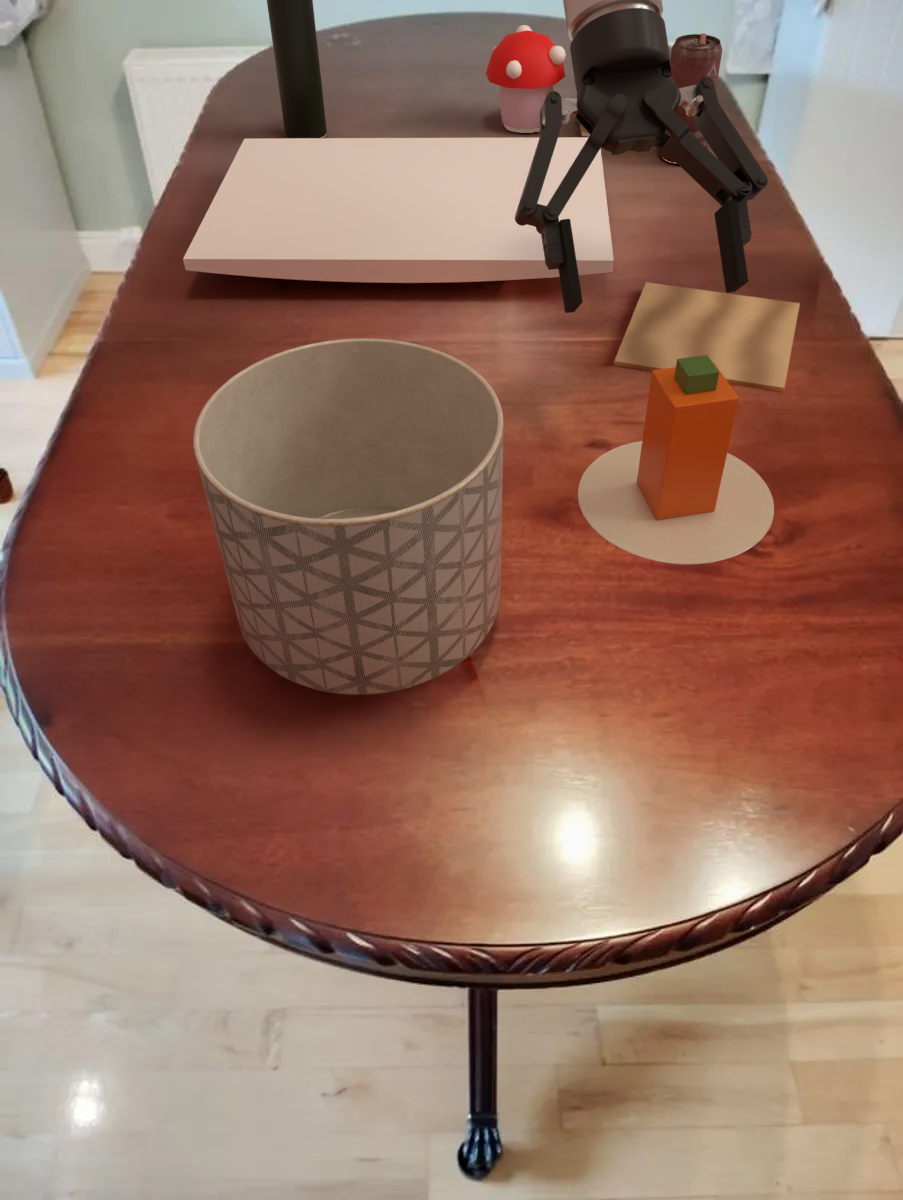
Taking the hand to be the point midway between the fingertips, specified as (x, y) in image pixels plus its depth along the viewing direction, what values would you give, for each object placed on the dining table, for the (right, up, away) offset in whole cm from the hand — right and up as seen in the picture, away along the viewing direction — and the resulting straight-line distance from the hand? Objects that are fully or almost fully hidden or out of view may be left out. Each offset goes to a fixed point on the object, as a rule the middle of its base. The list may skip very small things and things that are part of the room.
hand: (656, 298), depth 79 cm
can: (+14, +34, +52) cm, 64 cm away
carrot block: (+2, -16, +3) cm, 16 cm away
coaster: (+9, +2, +21) cm, 23 cm away
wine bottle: (-37, +40, +60) cm, 81 cm away
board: (-21, +19, +39) cm, 48 cm away
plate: (+2, -16, +4) cm, 16 cm away
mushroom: (-6, +43, +61) cm, 75 cm away
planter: (-22, -26, -5) cm, 34 cm away
